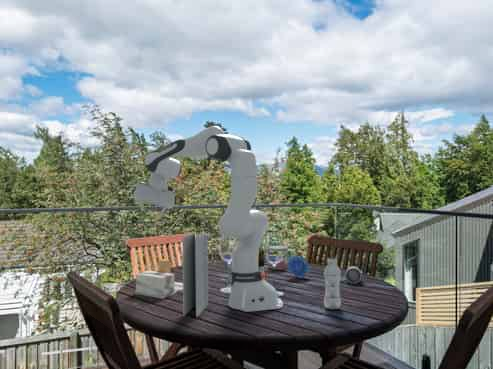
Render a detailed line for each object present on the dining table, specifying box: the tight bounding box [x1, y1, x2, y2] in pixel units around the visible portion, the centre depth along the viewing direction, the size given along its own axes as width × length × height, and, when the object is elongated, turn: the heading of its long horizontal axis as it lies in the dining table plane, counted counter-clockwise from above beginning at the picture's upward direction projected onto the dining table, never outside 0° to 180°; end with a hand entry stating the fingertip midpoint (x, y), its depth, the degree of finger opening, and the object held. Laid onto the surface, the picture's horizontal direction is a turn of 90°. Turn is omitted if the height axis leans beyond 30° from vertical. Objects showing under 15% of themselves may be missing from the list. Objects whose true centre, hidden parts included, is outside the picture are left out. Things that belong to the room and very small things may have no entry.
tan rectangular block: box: [158, 258, 172, 274], centre depth 191 cm, size 4×4×13 cm
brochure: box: [181, 232, 209, 318], centre depth 160 cm, size 14×6×30 cm, turn 168°
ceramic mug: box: [340, 265, 362, 284], centre depth 204 cm, size 11×8×8 cm
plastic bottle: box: [323, 257, 342, 310], centre depth 161 cm, size 6×7×20 cm
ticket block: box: [134, 270, 183, 300], centre depth 191 cm, size 22×17×9 cm
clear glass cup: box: [267, 245, 289, 270], centre depth 239 cm, size 11×11×12 cm
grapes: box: [287, 254, 310, 279], centre depth 211 cm, size 12×7×12 cm, turn 85°
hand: (151, 213), depth 195 cm, fingers open, 8 cm apart
